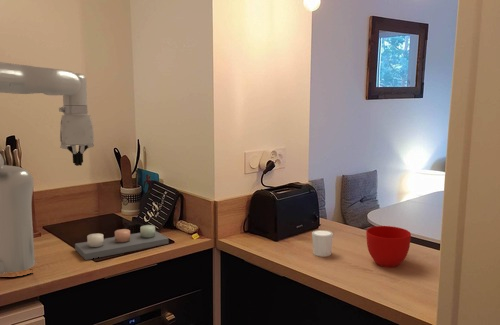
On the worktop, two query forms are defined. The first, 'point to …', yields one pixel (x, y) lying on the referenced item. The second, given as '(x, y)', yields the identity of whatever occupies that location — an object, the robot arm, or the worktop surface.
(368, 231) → the ceramic cup
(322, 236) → the white tapered tub
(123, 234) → the terracotta button
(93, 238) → the cream button
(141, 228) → the sage button
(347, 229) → the worktop surface
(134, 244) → the button board
